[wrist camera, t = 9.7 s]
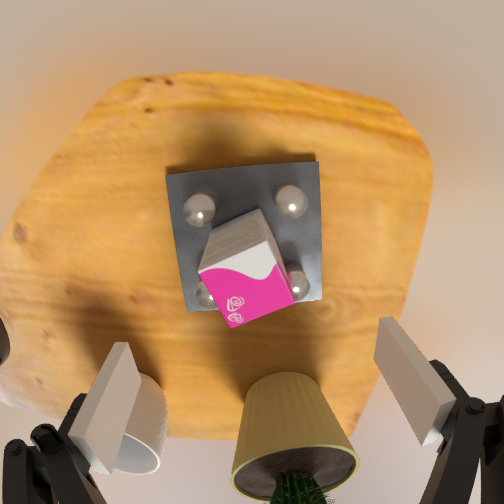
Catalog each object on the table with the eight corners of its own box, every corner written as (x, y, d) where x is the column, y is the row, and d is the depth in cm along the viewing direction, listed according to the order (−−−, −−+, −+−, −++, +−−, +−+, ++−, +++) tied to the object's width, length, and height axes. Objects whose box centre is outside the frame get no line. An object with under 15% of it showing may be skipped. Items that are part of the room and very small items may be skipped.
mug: (143, 428, 45) (128, 488, 32) (88, 395, 42) (61, 453, 30) (189, 386, 41) (177, 458, 29) (124, 345, 39) (91, 412, 26)
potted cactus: (347, 402, 44) (405, 565, 15) (264, 439, 46) (279, 597, 18) (306, 341, 39) (372, 563, 11) (210, 388, 42) (196, 589, 13)
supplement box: (209, 229, 33) (194, 269, 22) (260, 206, 32) (270, 235, 22) (232, 275, 35) (230, 331, 24) (281, 253, 34) (300, 302, 23)
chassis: (188, 307, 37) (182, 327, 33) (167, 174, 32) (157, 178, 28) (319, 295, 37) (328, 314, 33) (316, 161, 32) (327, 163, 28)
